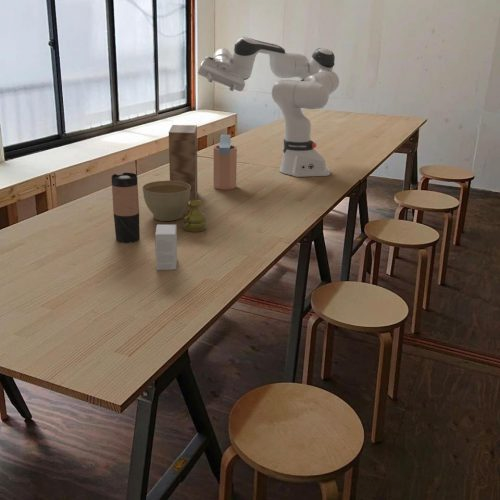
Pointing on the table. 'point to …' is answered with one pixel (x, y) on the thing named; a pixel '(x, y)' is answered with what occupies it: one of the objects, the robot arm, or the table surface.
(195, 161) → the stand
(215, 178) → the crock
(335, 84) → the robot arm
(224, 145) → the lid slat
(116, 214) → the travel mug
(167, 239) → the small box
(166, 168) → the table surface
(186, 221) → the olive green tiered figure
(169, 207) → the planter bowl
